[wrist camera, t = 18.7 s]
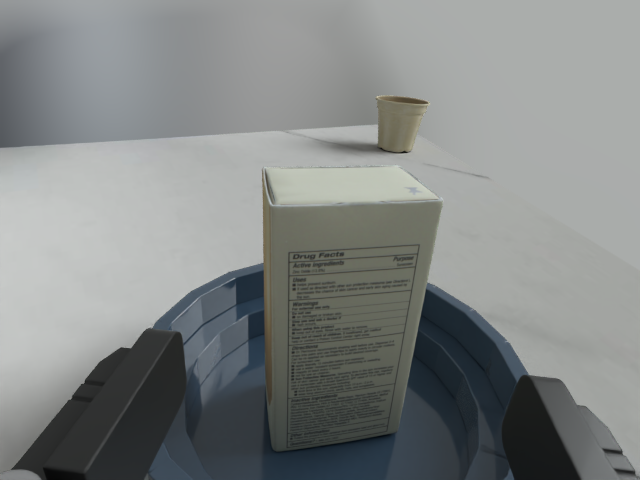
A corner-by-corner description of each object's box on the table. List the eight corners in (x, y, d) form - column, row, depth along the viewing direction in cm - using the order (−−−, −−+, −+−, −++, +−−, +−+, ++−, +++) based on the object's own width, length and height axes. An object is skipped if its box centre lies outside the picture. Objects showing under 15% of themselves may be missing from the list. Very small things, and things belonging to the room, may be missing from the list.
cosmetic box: (371, 371, 23) (407, 162, 18) (399, 437, 20) (455, 198, 14) (258, 383, 22) (259, 160, 17) (265, 456, 18) (269, 200, 13)
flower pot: (413, 143, 80) (421, 97, 76) (427, 157, 71) (437, 105, 67) (365, 141, 79) (371, 93, 75) (374, 154, 70) (381, 101, 67)
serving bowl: (498, 354, 26) (518, 296, 24) (537, 764, 11) (597, 700, 9) (251, 290, 31) (250, 237, 29) (41, 526, 16) (10, 447, 14)
